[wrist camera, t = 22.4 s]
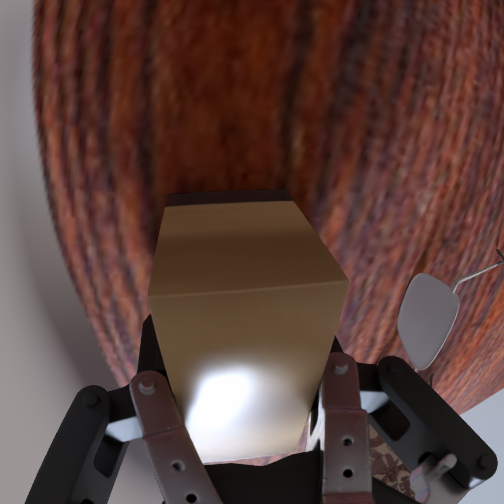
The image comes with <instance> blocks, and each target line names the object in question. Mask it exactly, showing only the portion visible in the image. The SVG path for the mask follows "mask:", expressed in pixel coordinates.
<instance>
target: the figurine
mask: <svg viewBox="0 0 504 504" xmlns="http://www.w3.org/2000/svg"><path fill="white" fill-rule="evenodd" d="M369 433H370V449H371V470H372V476H374V477H375V478H377V479H379V480H380V481H382V482H384V483H385V484H387V485H389V486H391V487H392V488H394V489H396V490H398V491H400V492H401V493H403V494H405V495H407V496H409V497H411V498H412V499H414V500H415V493H414V491H413V490H411V488H410V475H411V472H410V471H409V470H408V468H407V467H406V466H405V465H404V464H403V463H402V462H401V460H400V459H399V458H398V457H397V456H396V455H395V453H394V452H393V451H392V450H391V449H390V447H389V446H388V445H387V444H386V443H385V442H384V440H383V439H382V438H381V437H380V436H379V435H378V433H377V432H376V431H375V430H374V429H373V427H372V426H371V425H370V424H369Z"/></svg>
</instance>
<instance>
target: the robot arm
mask: <svg viewBox="0 0 504 504" xmlns="http://www.w3.org/2000/svg"><path fill="white" fill-rule="evenodd" d="M369 424H370V425H371V426H372V427H373V429H374V430H375V431H376V432H377V433H378V435H379V436H380V437H381V438H382V439H383V440H384V442H385V443H386V444H387V445H388V446H389V447H390V449H391V450H392V451H393V452H394V453H395V455H396V456H397V457H398V458H399V459H400V460H401V462H402V463H403V464H404V465H405V466H406V467H407V468H408V470H409V471H410V472H411V475H410V488H411V490H413V491H414V493H415V500H414V499H412V498H411V497H409V496H407V495H405V494H403V493H401V492H400V491H398V490H396V489H394V488H392V487H391V486H389V485H387V484H385V483H384V482H382V481H380V480H379V479H377V478H375V477H374V476H372V470H371V449H370V433H369ZM139 437H142V441H143V444H144V448H145V451H146V453H147V456H148V459H149V462H150V465H151V468H152V470H153V473H154V476H155V478H156V480H157V483H158V486H159V488H160V491H161V493H162V496H163V498H164V501H163V502H162V504H457V503H458V502H459V501H460V500H461V499H462V498H463V497H464V496H465V495H466V494H467V493H468V491H470V490H471V489H473V488H475V487H476V486H478V485H480V484H481V483H483V482H484V481H486V480H487V479H489V478H490V477H492V476H493V474H494V473H495V472H496V469H497V466H498V461H497V457H496V454H495V453H494V452H493V451H492V449H491V448H490V447H489V446H488V445H487V444H486V443H485V442H484V441H483V440H482V439H481V438H480V437H479V436H478V435H477V434H476V433H475V432H474V430H473V429H472V428H471V427H470V426H469V425H468V424H467V423H466V422H465V421H464V420H463V419H462V418H461V417H460V416H459V415H458V414H457V413H456V412H455V411H454V410H453V409H452V408H451V407H450V406H449V405H448V404H447V403H446V402H445V401H444V400H443V399H442V398H441V397H440V396H439V395H438V394H437V393H436V392H435V391H434V390H433V389H432V388H431V387H430V386H429V385H428V384H427V383H426V382H425V381H424V380H423V379H422V378H421V377H420V376H419V375H418V374H417V373H416V372H415V371H414V370H413V369H412V368H411V367H410V366H409V365H408V364H407V363H406V362H405V361H404V360H403V359H401V358H399V357H396V356H387V357H384V358H382V359H381V360H380V361H379V363H378V364H363V363H358V362H356V361H355V359H354V358H353V357H351V356H350V355H348V354H346V353H344V352H343V350H342V348H341V346H340V344H339V342H338V340H337V338H336V336H335V337H334V340H333V344H332V347H331V350H330V353H329V357H328V360H327V363H326V366H325V369H324V373H323V376H322V378H321V381H320V384H319V388H318V391H317V394H316V396H315V399H314V402H313V405H312V408H311V410H310V413H309V423H308V440H307V445H306V450H305V452H302V453H297V454H292V455H290V456H287V457H285V458H283V459H280V460H278V461H276V462H273V463H271V464H268V465H265V466H255V465H244V464H235V463H227V464H214V465H203V463H202V461H201V459H200V457H199V455H198V453H197V450H196V448H195V446H194V444H193V442H192V439H191V437H190V435H189V433H188V430H187V428H186V426H185V425H184V423H183V420H182V418H181V415H180V413H179V410H178V407H177V404H176V401H175V398H174V395H173V392H172V389H171V385H170V382H169V379H168V375H167V372H166V369H165V365H164V362H163V358H162V354H161V351H160V347H159V343H158V340H157V336H156V332H155V328H154V324H153V320H152V316H151V314H149V316H148V317H147V319H146V320H145V321H144V323H143V329H142V337H141V345H140V353H139V362H138V371H137V374H136V375H135V376H134V377H133V378H132V380H131V382H130V384H128V385H127V386H125V387H122V388H119V389H116V390H112V391H109V392H107V391H106V390H105V389H104V388H102V387H100V386H97V385H91V386H87V387H85V388H83V389H81V390H80V391H79V392H78V393H77V395H76V397H75V399H74V401H73V402H72V404H71V406H70V408H69V410H68V412H67V414H66V416H65V418H64V420H63V421H62V423H61V425H60V427H59V430H58V432H57V433H56V435H55V437H54V439H53V441H52V443H51V446H50V448H49V450H48V452H47V454H46V456H45V458H44V460H43V462H42V465H41V467H40V469H39V471H38V473H37V476H36V478H35V480H34V483H33V485H32V487H31V490H30V492H29V495H28V497H27V499H26V502H25V504H107V502H108V500H109V497H110V494H111V491H112V488H113V486H114V483H115V480H116V477H117V475H118V472H119V469H120V466H121V464H122V461H123V458H124V456H125V453H126V450H127V448H128V445H129V442H130V440H132V439H136V438H139Z"/></svg>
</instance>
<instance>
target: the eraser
mask: <svg viewBox="0 0 504 504" xmlns="http://www.w3.org/2000/svg"><path fill="white" fill-rule="evenodd" d="M348 285H349V280H348V278H347V277H346V275H345V274H344V272H343V271H342V269H341V268H340V266H339V265H338V263H337V262H336V260H335V259H334V257H333V256H332V254H331V253H330V252H329V250H328V249H327V247H326V246H325V244H324V243H323V241H322V240H321V239H320V237H319V236H318V234H317V233H316V232H315V230H314V229H313V227H312V226H311V225H310V223H309V222H308V220H307V219H306V218H305V216H304V215H303V213H302V212H301V211H300V209H299V208H298V207H297V205H296V204H295V202H294V201H293V199H292V198H291V197H290V195H289V194H288V193H287V191H286V190H285V189H275V190H241V191H217V192H198V193H182V194H168V196H167V200H166V204H165V209H164V213H163V218H162V222H161V227H160V232H159V236H158V241H157V246H156V251H155V256H154V261H153V267H152V272H151V278H150V283H149V289H148V295H147V299H148V303H149V307H150V312H151V316H152V320H153V324H154V328H155V332H156V336H157V340H158V343H159V347H160V351H161V354H162V358H163V362H164V365H165V369H166V372H167V375H168V379H169V382H170V385H171V389H172V392H173V395H174V398H175V401H176V404H177V407H178V410H179V413H180V415H181V418H182V420H183V423H184V425H185V426H186V428H187V430H188V433H189V435H190V437H191V439H192V442H193V444H194V446H195V448H196V450H197V453H198V455H199V457H200V459H201V461H202V463H206V462H220V461H231V460H241V459H250V458H257V457H264V456H271V455H277V454H283V453H289V452H294V451H295V450H296V447H297V445H298V442H299V440H300V437H301V435H302V432H303V430H304V427H305V424H306V422H307V419H308V416H309V413H310V410H311V408H312V405H313V402H314V399H315V396H316V394H317V391H318V388H319V384H320V381H321V378H322V376H323V373H324V369H325V366H326V363H327V360H328V357H329V353H330V350H331V347H332V344H333V340H334V337H335V333H336V330H337V326H338V323H339V319H340V315H341V312H342V308H343V304H344V300H345V296H346V293H347V289H348Z"/></svg>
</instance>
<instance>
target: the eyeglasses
mask: <svg viewBox="0 0 504 504" xmlns="http://www.w3.org/2000/svg"><path fill="white" fill-rule="evenodd" d="M496 251H497V253H498V254H499V255H500V256H501V257H502V259H503V260H502V261H500V262H497V263H496V264H493V265H491V266H488V267H486V268H483V269H481V270H478V271H476V272H473V273H471V274H468V275H465V276H463V277H460V278H457V279H456V280H454V282H453V283H452V285H451V288H450V287H449V286H448V285H447V284H445V283H444V282H442V281H441V280H439V279H437V278H435V277H434V276H432V275H429V274H427V273H419V274H417V275H416V276H415V277H414V278H413V279H412V281H411V282H410V284H409V286H408V289H407V291H406V293H405V296H404V298H403V301H402V304H401V308H400V311H399V316H398V321H397V329H398V333H399V336H400V339H401V342H402V344H403V347H404V349H405V351H406V353H407V355H408V357H409V359H410V361H411V362H412V364H413V365H414V367H415V372H416V373H417V369H418V370H424V369H426V368H427V367H428V366H429V365H430V364H431V363H432V362H433V361H434V359H435V358H436V356H437V355H438V353H439V351H440V350H441V348H442V346H443V344H444V343H445V341H446V339H447V337H448V335H449V333H450V331H451V329H452V326H453V324H454V322H455V319H456V316H457V314H458V310H459V297H458V295H457V294H456V293H455V290H456V288H457V286H458V284H459V283H461V282H463V281H465V280H467V279H470V278H472V277H474V276H476V275H478V274H480V273H482V272H484V271H486V270H489V269H491V268H493V267H495V266H498V265H500V264H502V263H504V256H503V255H502V254H501V253H500V251H499V249H496ZM432 377H433V374H431V376H430V387H432Z"/></svg>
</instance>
